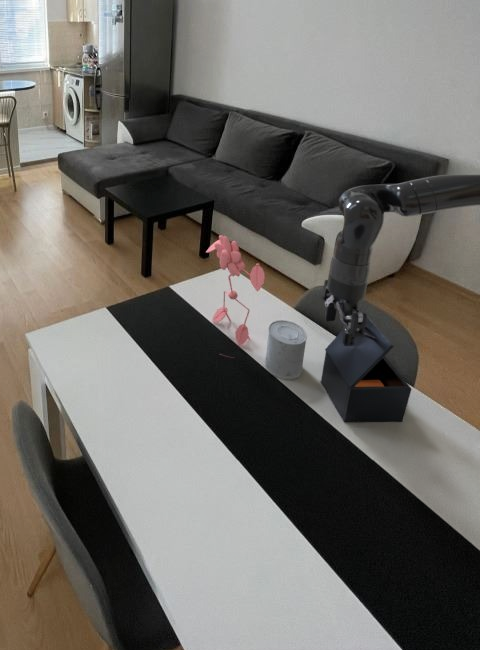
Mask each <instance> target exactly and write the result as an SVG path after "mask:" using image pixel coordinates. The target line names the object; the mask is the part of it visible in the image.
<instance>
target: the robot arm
mask: <svg viewBox="0 0 480 650" xmlns="http://www.w3.org/2000/svg"><path fill="white" fill-rule="evenodd" d="M337 206H338V210H339V211H340V213H341V215H342V216H343V227H342V229H341V230H340V231H339V232H338V233H337V235H336V238H335V242H334V247H333V254H332V257H331V260H330V264H329V272H328V277H327V279H325V280H324V282H323V287H322V293H321V300H322V301H324V306H325V311H324V320H325V321H326V322H334V321H335V320H336V316H337V312H338V314H339V319H340V322H341V323H342V324H343V329H345V331H344V336H343V341H342V343H343V344H344V346H353V345H354V343H355V338H356V337H364V332H365V325H366V319H367V316H368V314H367V313H366V312H365V313H360V312H359V311H360V310H359V302H360V301H361V300H363V299H364V298H365V296H366V293H367V288H368V287H367V286H368V283H369V279H370V273H371V261H372V255H373V251H374V245H375V243H376V242H377V239H378V238H379V235H380V233H381V231H382V228H383V225H384V223H385V213H395V214H397V215H399V216H401V217H405V218H407V217H415V216H422V215H426V214H433V213H437V212H438V213H439V212H444V211H449V210H455V209H461V208H468V207H478V206H479V207H480V174H440V175H432V176H427V177H422V178H418V179H412V180H407V181H403V182H400V183H381V184H367V185H359V186H355V187H352V188H351V187H350V188H349V189H347V190H345V191H344V192H342V193H341V194H340V195H339V198H338V200H337ZM366 314H367V315H366ZM346 316H351V319H346V318H345V317H346ZM348 323H351V325H350V328H349V325H348Z"/></svg>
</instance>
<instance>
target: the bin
mask: <svg viewBox="0 0 480 650" xmlns="http://www.w3.org/2000/svg"><path fill="white" fill-rule="evenodd" d="M361 380H380V381H381V382H382V384H383V385H384V386H378V387H354V388H353V389H352V388H350V387H349V385H348V384H347V382H346V381H345V379H344V378H343V376H342V375H341V373H340V372H339V370H338V369H337V367H336V366H335V364H334V363H333V361H332V360H331V358H330V357H329V355H328V353H327V352H326V351H325V355H324V360H323V366H322V372H321V379H320V384H321V386H322V387H323V390H324V391H325V392H326V394H327V396H328V398H329V400H330V401H331V403H332V405H333V406H334V408H335V409H336V412H337V413H338V414H339V417H340V418H341V420H342V421H343V423H344V424H345V423H348V424H349V423H403V422H404V418H405V414H406V410H407V407H408V403H409V399H410V395H411V392H412V388H411V386H410V385H409V383H408V382H407V381H406V380H405V378H403V376H402V375H401V374H400V373H399V371H398V370H397V369H396V368H395V366H394V365H393V364H392V363H391V362H390V360H389V359H388V358H387V357H386V355H385V356H384V357H383V358H382V359H381V360H380V361H379V362H378V363H377V364H376V365H375V366H374V367H373V368H372V369H371V370H370V371H369V372H368V373H367V374H366V375H365V376H364V377H363V378H362V379H361Z"/></svg>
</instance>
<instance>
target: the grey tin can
mask: <svg viewBox="0 0 480 650" xmlns="http://www.w3.org/2000/svg"><path fill="white" fill-rule="evenodd" d="M307 339H308V335H307V332H306V330H305V329H304V328H303V327H302V326H301V325H299V324H297V323H295V322H293V321H289V320H284V319H283V320H282V319H280V320H275V321H272V322H271V323H270V324H269V325H268V333H267V344H266V354H265V360H264V364H265V367H266V369H267V370H268V372H269V373H271V374H272V375H274V376H275V377H278V378H280V379H283V380H295V379H298V378H300V377H301V375H302V373H303V365H304V358H305V350H306V343H307Z"/></svg>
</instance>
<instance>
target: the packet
mask: <svg viewBox="0 0 480 650" xmlns="http://www.w3.org/2000/svg"><path fill="white" fill-rule="evenodd" d="M378 386H384V385H383V384H382V382H381V381H380V380H360V382H359V383H358V384H357V385H356V386H355V387H378Z"/></svg>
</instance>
